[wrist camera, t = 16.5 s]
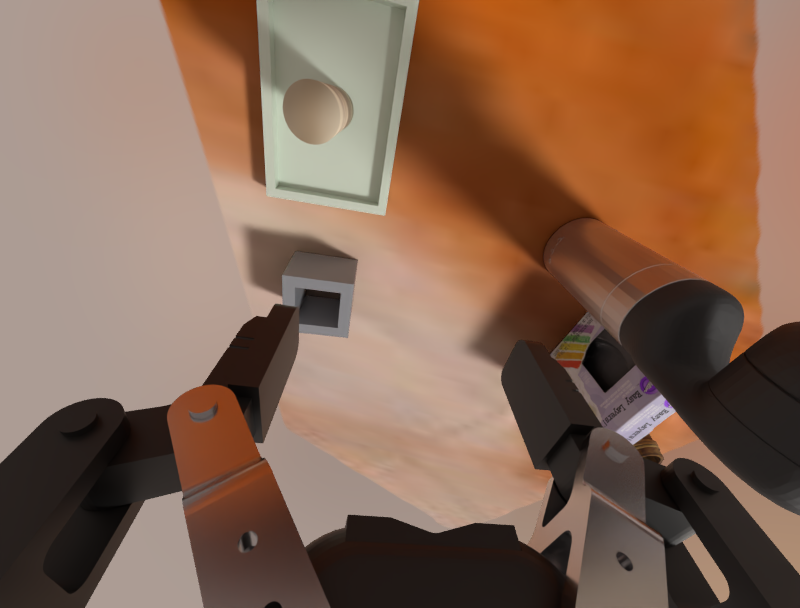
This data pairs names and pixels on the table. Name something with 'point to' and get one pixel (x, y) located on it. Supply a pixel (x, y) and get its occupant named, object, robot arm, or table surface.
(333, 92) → the birch peg
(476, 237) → the table surface
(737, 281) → the table surface
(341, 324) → the grey cup
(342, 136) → the sage tray
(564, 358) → the cake pan box
